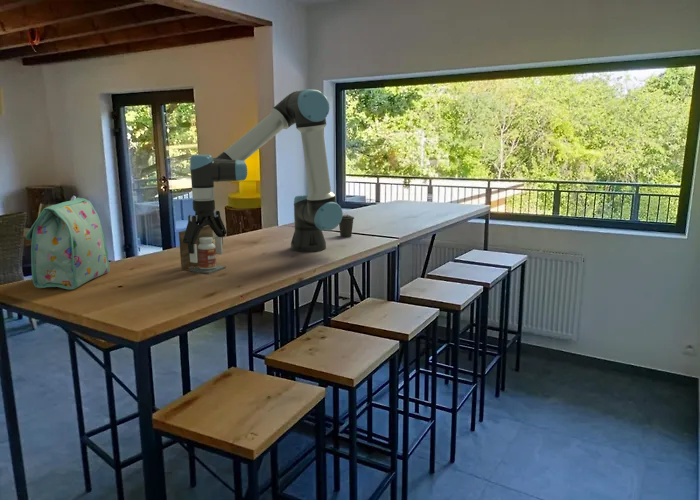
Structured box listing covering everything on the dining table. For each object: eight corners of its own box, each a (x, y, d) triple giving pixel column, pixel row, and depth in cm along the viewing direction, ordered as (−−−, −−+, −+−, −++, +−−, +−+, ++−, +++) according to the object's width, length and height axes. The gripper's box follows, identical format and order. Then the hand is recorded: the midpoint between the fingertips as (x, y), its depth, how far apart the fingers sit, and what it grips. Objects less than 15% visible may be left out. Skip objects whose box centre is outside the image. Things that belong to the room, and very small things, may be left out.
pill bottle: (210, 270, 180) (208, 240, 177) (195, 269, 181) (193, 238, 179) (219, 266, 185) (218, 236, 183) (205, 265, 187) (203, 235, 185)
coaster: (225, 267, 186) (225, 266, 186) (209, 273, 178) (209, 272, 178) (206, 265, 190) (206, 263, 189) (189, 270, 182) (189, 269, 182)
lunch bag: (69, 271, 180) (60, 195, 174) (115, 272, 180) (107, 196, 174) (27, 290, 158) (15, 204, 152) (79, 291, 158) (69, 205, 151)
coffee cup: (345, 238, 239) (345, 217, 237) (334, 236, 245) (334, 215, 243) (357, 236, 245) (357, 215, 242) (346, 233, 251) (346, 213, 248)
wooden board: (216, 261, 196) (214, 225, 192) (187, 271, 181) (184, 232, 178) (208, 260, 197) (206, 224, 194) (178, 269, 183) (176, 231, 180)
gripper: (218, 195, 191) (221, 250, 195) (169, 202, 169) (173, 264, 173) (234, 196, 187) (237, 252, 192) (186, 204, 166) (190, 267, 170)
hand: (207, 258), depth 183 cm, fingers open, 13 cm apart
